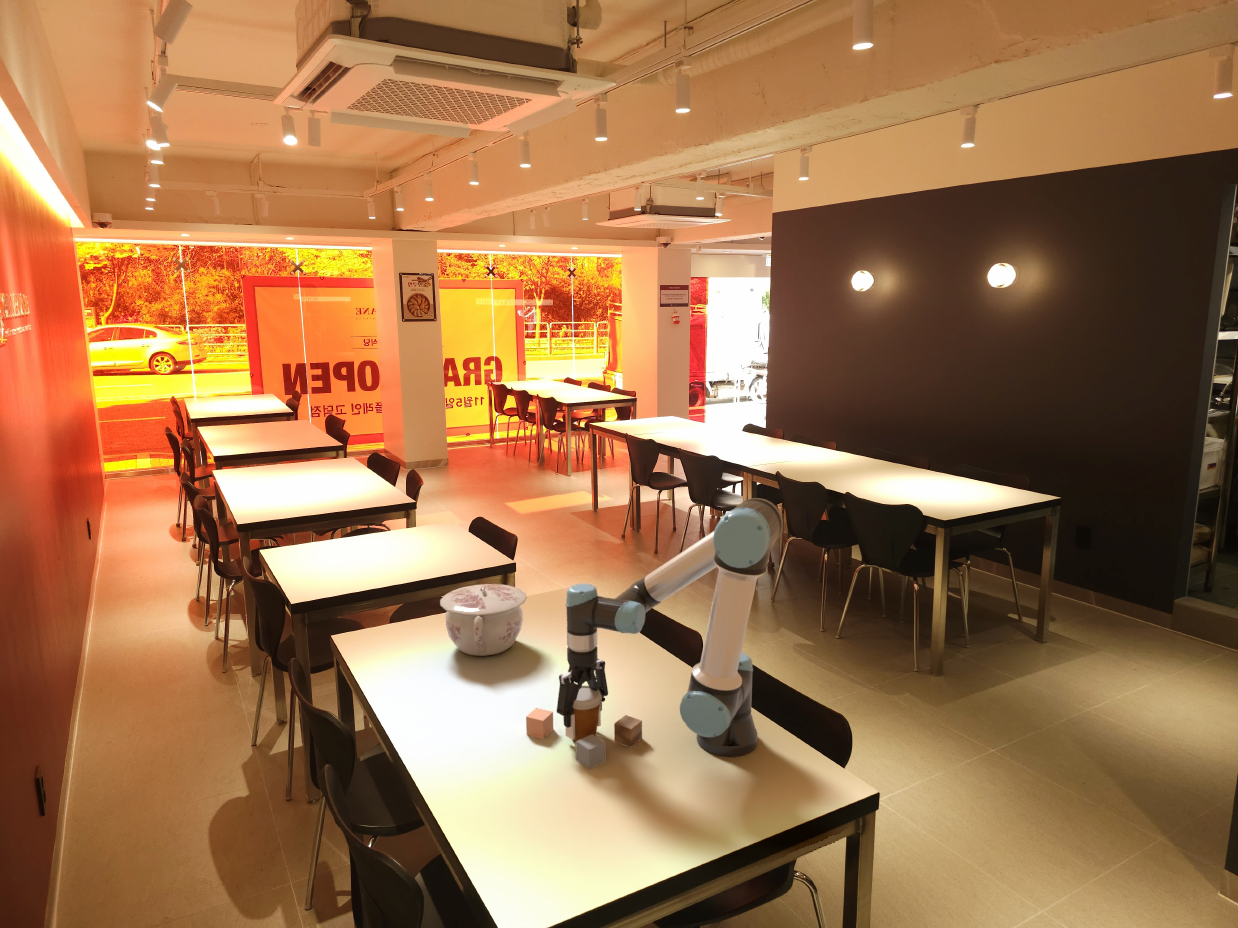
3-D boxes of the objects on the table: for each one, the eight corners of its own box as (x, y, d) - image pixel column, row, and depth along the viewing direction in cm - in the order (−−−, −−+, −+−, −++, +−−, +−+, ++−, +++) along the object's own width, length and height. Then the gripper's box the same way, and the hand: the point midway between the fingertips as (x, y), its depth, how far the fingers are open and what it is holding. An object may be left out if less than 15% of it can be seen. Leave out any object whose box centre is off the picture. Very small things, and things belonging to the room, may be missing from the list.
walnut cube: (642, 738, 196) (642, 720, 195) (631, 747, 191) (630, 728, 191) (625, 732, 198) (625, 714, 197) (614, 741, 194) (614, 723, 193)
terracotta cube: (553, 729, 200) (552, 711, 199) (543, 738, 196) (543, 720, 195) (536, 725, 202) (536, 707, 201) (526, 734, 198) (526, 716, 197)
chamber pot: (486, 624, 269) (483, 567, 265) (545, 642, 253) (544, 582, 250) (422, 652, 247) (419, 590, 243) (483, 674, 231) (481, 608, 227)
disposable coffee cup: (597, 748, 191) (597, 703, 188) (560, 744, 193) (559, 700, 190) (605, 729, 200) (605, 686, 198) (570, 725, 202) (569, 682, 200)
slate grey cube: (605, 761, 186) (605, 742, 185) (589, 769, 182) (588, 749, 181) (592, 752, 189) (592, 733, 188) (576, 760, 186) (575, 741, 185)
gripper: (602, 630, 202) (602, 710, 206) (539, 654, 187) (541, 740, 191) (622, 638, 196) (622, 720, 201) (560, 664, 182) (562, 752, 186)
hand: (583, 730), depth 196 cm, fingers closed on disposable coffee cup, 8 cm apart
